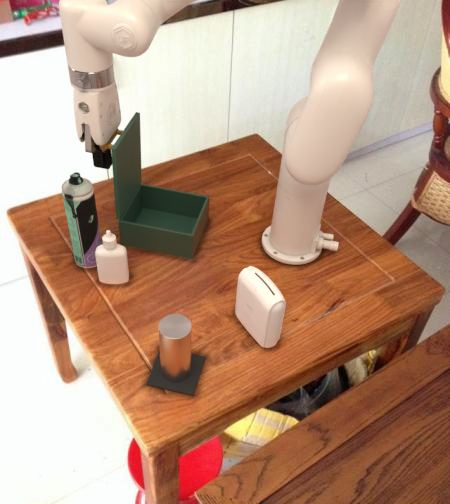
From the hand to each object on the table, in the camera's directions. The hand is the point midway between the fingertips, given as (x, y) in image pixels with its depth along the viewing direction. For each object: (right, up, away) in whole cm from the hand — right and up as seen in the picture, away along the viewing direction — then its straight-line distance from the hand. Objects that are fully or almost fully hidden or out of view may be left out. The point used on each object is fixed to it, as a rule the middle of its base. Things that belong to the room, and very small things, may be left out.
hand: (103, 165), depth 108 cm
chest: (+11, -12, +9) cm, 19 cm away
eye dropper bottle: (+2, -22, -1) cm, 22 cm away
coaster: (+15, -38, -14) cm, 43 cm away
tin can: (+15, -38, -15) cm, 43 cm away
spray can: (-3, -18, +2) cm, 19 cm away
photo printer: (+29, -31, -7) cm, 43 cm away
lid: (+5, -1, -1) cm, 6 cm away
